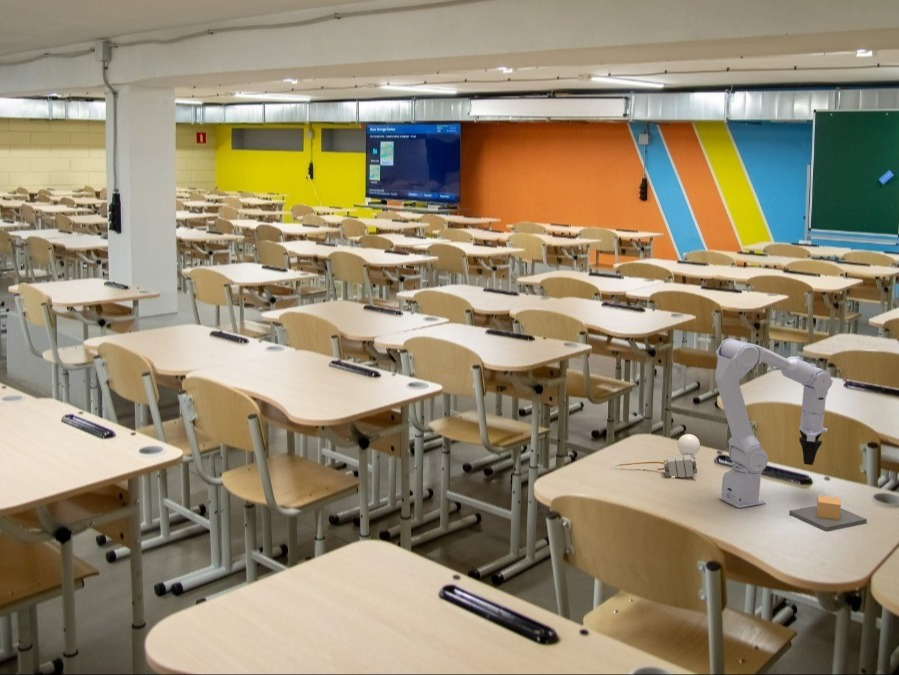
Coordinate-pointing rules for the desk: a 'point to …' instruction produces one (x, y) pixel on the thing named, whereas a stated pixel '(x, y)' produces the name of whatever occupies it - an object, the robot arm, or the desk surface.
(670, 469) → the electrical component
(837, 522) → the plate
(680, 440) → the lightbulb
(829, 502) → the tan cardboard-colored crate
